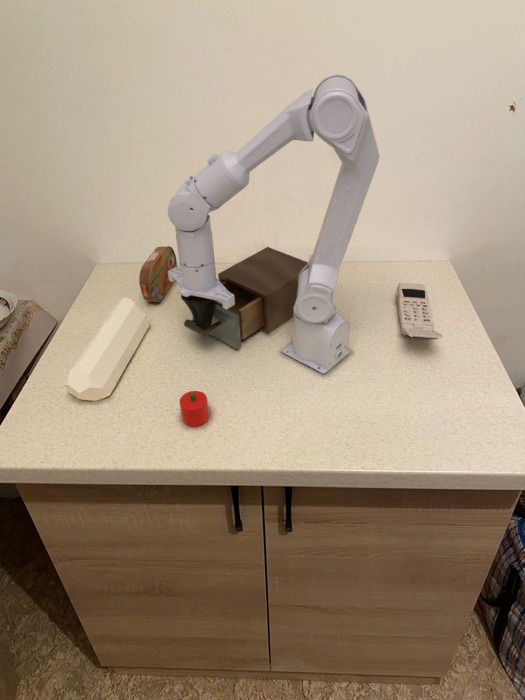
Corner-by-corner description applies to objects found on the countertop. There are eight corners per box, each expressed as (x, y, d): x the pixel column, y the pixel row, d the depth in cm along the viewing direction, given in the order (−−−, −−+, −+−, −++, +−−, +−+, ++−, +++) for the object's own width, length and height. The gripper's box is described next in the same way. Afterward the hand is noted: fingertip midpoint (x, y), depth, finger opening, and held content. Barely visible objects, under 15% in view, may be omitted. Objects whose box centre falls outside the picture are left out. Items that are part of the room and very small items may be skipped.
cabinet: (267, 334, 96) (266, 296, 90) (221, 310, 102) (217, 273, 97) (314, 302, 104) (315, 265, 99) (268, 282, 111) (267, 246, 106)
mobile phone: (407, 335, 85) (398, 262, 104) (401, 362, 89) (394, 287, 108) (444, 338, 84) (428, 264, 103) (436, 365, 88) (423, 289, 107)
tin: (155, 310, 103) (149, 274, 98) (141, 308, 104) (134, 272, 99) (179, 273, 115) (175, 239, 110) (166, 272, 115) (161, 238, 110)
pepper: (214, 416, 79) (212, 393, 76) (195, 431, 77) (191, 408, 74) (196, 404, 81) (193, 381, 78) (177, 418, 79) (172, 395, 76)
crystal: (104, 302, 98) (44, 385, 80) (131, 289, 95) (75, 371, 77) (128, 330, 102) (76, 415, 84) (155, 318, 99) (107, 403, 80)
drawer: (217, 362, 88) (214, 330, 84) (175, 337, 94) (170, 306, 90) (284, 316, 99) (284, 286, 95) (242, 296, 105) (240, 267, 101)
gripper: (149, 254, 84) (161, 321, 92) (209, 283, 76) (216, 353, 85) (181, 240, 88) (190, 305, 96) (241, 265, 80) (245, 334, 89)
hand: (204, 326), depth 91 cm, fingers closed, pressing on drawer
